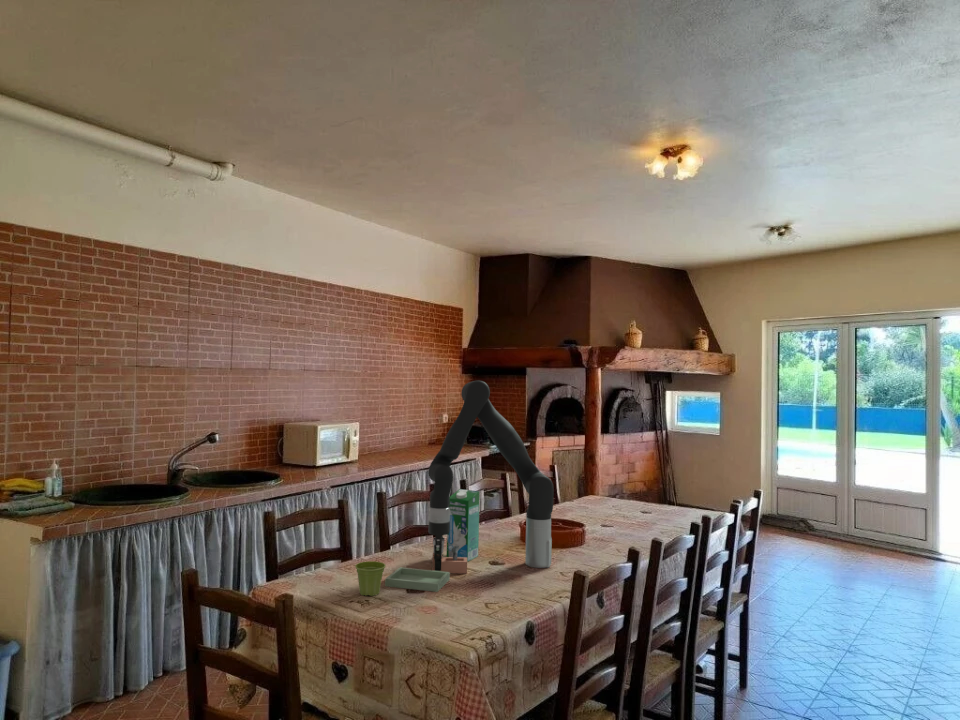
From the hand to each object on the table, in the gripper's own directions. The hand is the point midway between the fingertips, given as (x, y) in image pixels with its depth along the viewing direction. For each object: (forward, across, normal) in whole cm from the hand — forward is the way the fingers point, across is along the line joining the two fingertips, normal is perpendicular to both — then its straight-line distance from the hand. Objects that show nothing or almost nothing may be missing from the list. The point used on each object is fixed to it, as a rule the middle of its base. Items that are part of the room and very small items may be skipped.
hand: (438, 568), depth 218 cm
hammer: (+1, 0, -6) cm, 6 cm away
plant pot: (+1, -24, +20) cm, 31 cm away
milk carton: (+1, +17, -8) cm, 19 cm away
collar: (+1, 0, -4) cm, 4 cm away
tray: (+1, -13, +6) cm, 15 cm away
